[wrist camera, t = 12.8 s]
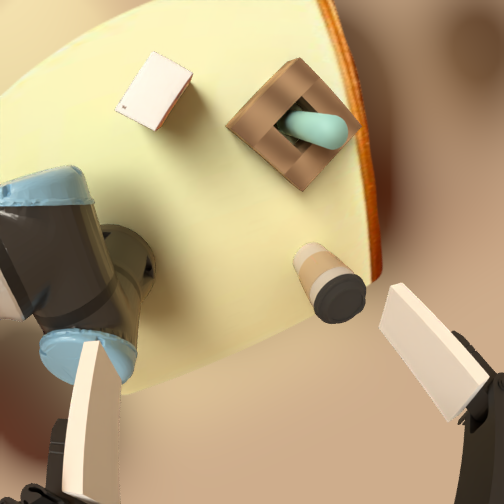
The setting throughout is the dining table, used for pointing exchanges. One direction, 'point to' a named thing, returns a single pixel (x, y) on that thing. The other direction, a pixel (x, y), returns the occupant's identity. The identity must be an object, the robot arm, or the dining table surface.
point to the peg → (314, 128)
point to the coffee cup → (329, 284)
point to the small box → (154, 91)
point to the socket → (274, 107)
